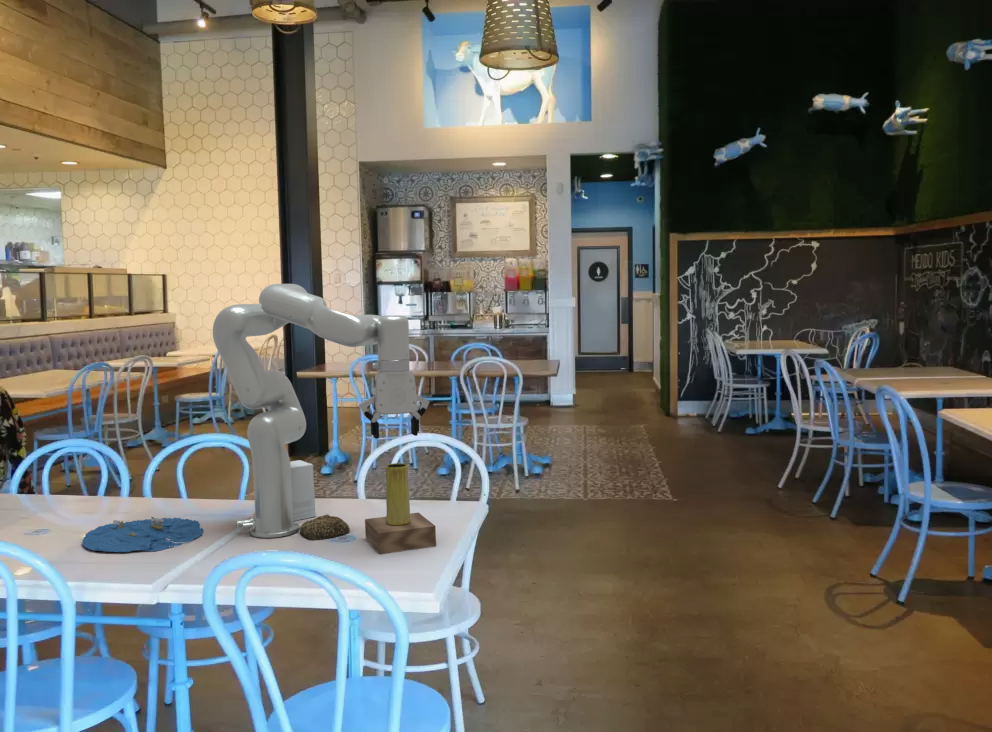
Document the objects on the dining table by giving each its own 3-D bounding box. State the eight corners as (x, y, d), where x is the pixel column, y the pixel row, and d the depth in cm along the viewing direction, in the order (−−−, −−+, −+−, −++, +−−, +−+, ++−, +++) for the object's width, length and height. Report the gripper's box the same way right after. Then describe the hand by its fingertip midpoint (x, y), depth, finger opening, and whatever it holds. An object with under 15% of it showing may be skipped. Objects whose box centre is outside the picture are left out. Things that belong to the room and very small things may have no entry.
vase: (387, 526, 207) (385, 468, 206) (384, 520, 213) (382, 463, 212) (412, 524, 209) (410, 466, 208) (408, 518, 215) (407, 462, 214)
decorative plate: (229, 529, 233) (229, 511, 232) (158, 562, 204) (157, 541, 204) (136, 519, 241) (136, 501, 240) (55, 550, 212) (55, 529, 211)
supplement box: (302, 511, 245) (300, 459, 243) (316, 517, 238) (314, 463, 236) (272, 516, 239) (269, 463, 238) (285, 523, 232) (283, 468, 231)
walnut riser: (379, 553, 203) (378, 533, 202) (365, 538, 215) (364, 519, 215) (436, 546, 208) (435, 525, 207) (419, 531, 221) (418, 512, 220)
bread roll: (304, 543, 214) (304, 523, 214) (297, 530, 225) (296, 512, 225) (355, 536, 219) (354, 517, 218) (345, 524, 230) (344, 506, 230)
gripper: (362, 369, 201) (364, 441, 203) (432, 366, 208) (433, 436, 209) (355, 367, 208) (356, 436, 210) (423, 363, 214) (424, 431, 216)
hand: (395, 436), depth 209 cm, fingers open, 9 cm apart
